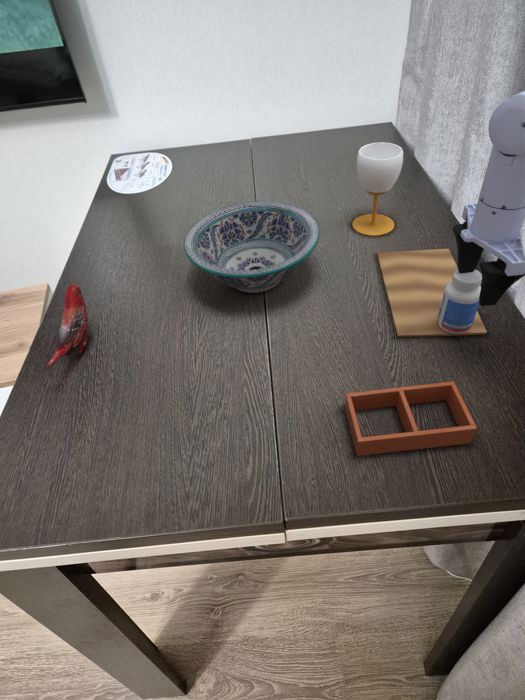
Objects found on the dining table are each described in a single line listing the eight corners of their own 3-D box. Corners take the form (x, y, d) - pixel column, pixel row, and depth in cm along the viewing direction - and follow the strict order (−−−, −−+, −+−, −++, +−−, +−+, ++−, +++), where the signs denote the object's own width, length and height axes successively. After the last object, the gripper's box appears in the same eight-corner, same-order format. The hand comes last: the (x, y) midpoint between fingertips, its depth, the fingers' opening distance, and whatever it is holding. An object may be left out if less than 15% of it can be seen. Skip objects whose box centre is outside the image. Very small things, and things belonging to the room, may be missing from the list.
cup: (355, 213, 100) (359, 141, 89) (395, 215, 98) (406, 141, 86) (349, 234, 94) (353, 160, 83) (392, 237, 92) (403, 161, 81)
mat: (486, 334, 71) (487, 332, 70) (397, 337, 72) (397, 335, 71) (448, 250, 87) (449, 248, 87) (376, 254, 88) (377, 252, 88)
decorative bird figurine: (103, 320, 82) (82, 276, 75) (71, 394, 70) (43, 351, 62) (88, 320, 82) (66, 277, 75) (54, 395, 70) (24, 352, 63)
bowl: (344, 287, 82) (347, 243, 75) (222, 336, 76) (213, 293, 69) (282, 229, 98) (279, 188, 91) (177, 265, 92) (166, 225, 85)
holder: (448, 396, 63) (453, 381, 60) (470, 443, 57) (477, 428, 55) (344, 408, 63) (345, 393, 61) (356, 456, 58) (358, 441, 55)
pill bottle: (478, 330, 71) (496, 282, 64) (447, 338, 70) (462, 290, 63) (459, 309, 74) (474, 261, 67) (430, 317, 74) (442, 269, 67)
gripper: (449, 176, 59) (431, 261, 68) (497, 233, 48) (468, 323, 58) (502, 170, 59) (476, 256, 68) (561, 225, 48) (521, 317, 58)
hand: (476, 287), depth 63 cm, fingers open, 7 cm apart
